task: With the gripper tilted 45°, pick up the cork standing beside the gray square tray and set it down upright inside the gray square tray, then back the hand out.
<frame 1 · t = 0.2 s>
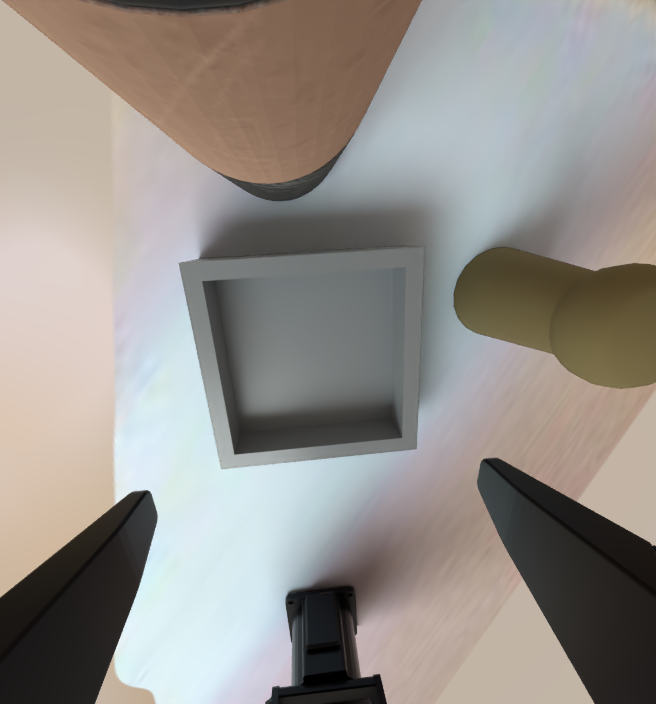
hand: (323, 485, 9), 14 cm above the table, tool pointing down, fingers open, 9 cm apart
gray square tray: (311, 349, 23), on the table
travel mug: (276, 133, 18), on the table
cork: (494, 292, 23), on the table
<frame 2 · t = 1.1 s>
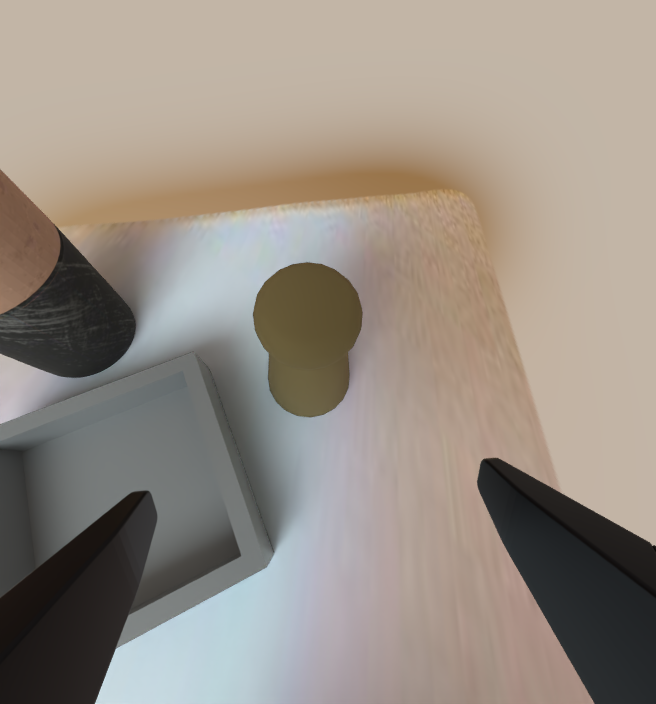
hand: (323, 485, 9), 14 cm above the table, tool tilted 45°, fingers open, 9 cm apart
gray square tray: (139, 497, 20), on the table
travel mug: (88, 335, 25), on the table
cork: (309, 377, 24), on the table
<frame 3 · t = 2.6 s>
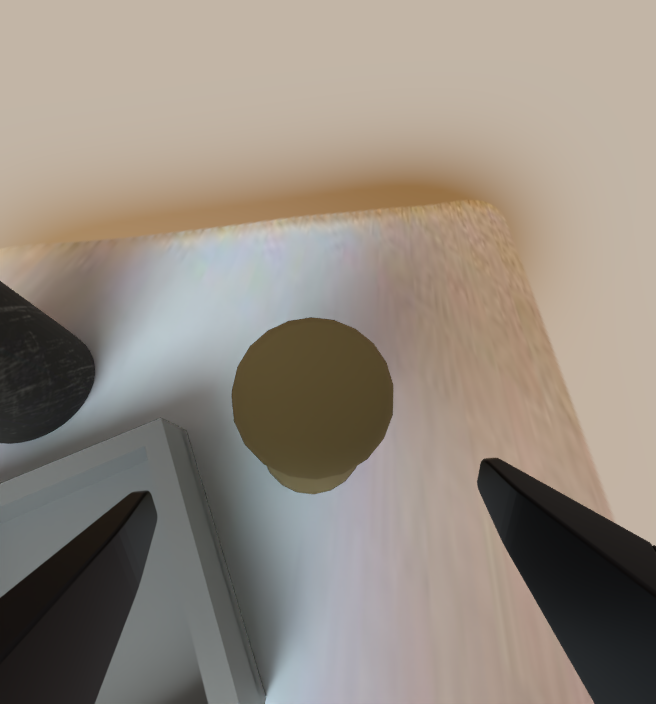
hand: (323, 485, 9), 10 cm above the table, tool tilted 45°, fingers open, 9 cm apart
gray square tray: (87, 614, 15), on the table
travel mug: (35, 384, 20), on the table
cork: (312, 438, 19), on the table
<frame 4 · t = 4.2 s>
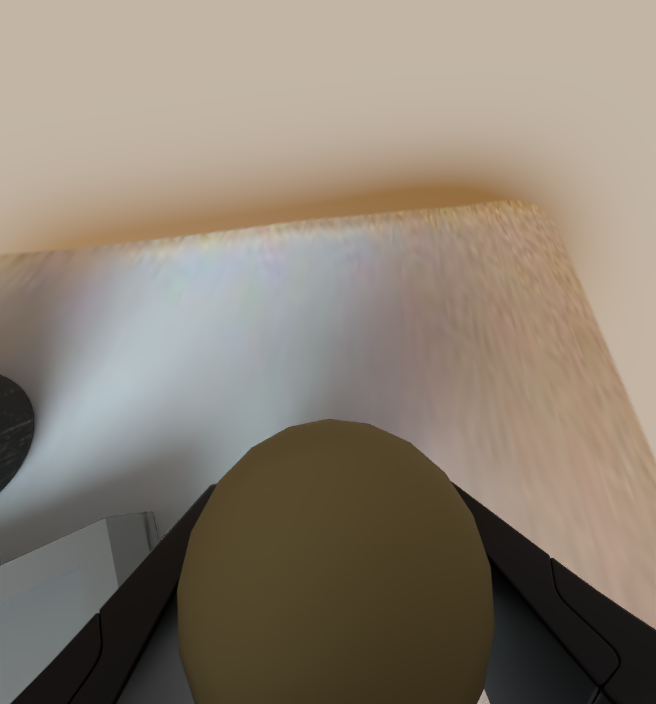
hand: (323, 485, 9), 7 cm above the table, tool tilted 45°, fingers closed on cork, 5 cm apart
cork: (320, 520, 15), on the table, touching gripper
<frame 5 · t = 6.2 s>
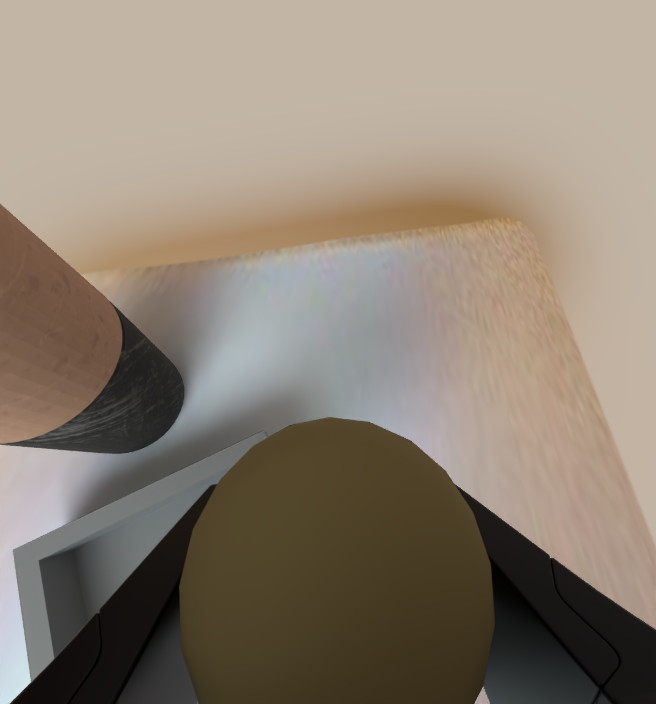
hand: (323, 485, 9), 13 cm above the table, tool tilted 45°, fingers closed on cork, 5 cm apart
gray square tray: (207, 595, 18), on the table
travel mug: (132, 400, 22), on the table
cork: (321, 518, 15), point 6 cm above the table, touching gripper
when the fingers open (9 cm above the table, at t = 8.2 s): cork drops 1 cm, resting on gray square tray.
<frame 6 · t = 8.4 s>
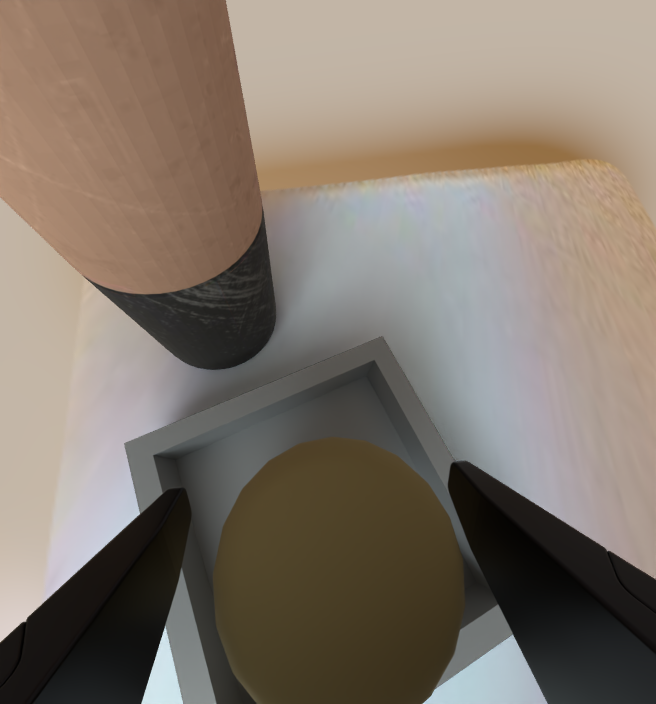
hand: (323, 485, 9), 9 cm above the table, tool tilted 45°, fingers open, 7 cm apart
gray square tray: (318, 516, 17), on the table
travel mug: (221, 319, 21), on the table
cork: (322, 521, 16), point 1 cm above the table, touching gray square tray
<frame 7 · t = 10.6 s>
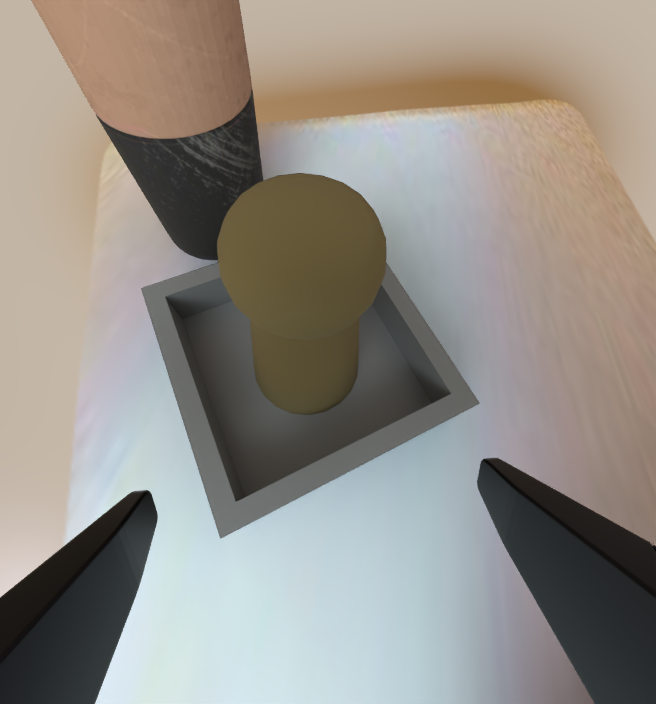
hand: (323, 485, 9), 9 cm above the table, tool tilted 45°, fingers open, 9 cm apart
gray square tray: (303, 366, 20), on the table
travel mug: (219, 223, 24), on the table
cork: (306, 364, 19), point 1 cm above the table, touching gray square tray
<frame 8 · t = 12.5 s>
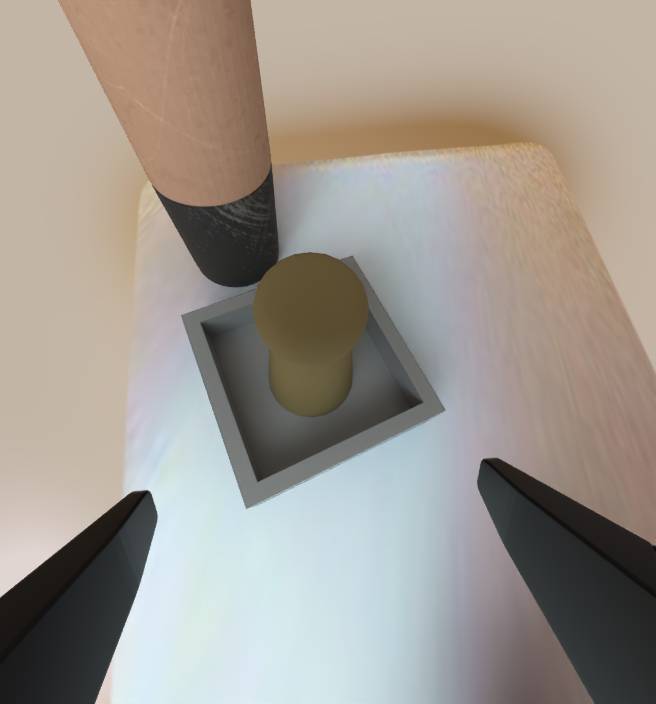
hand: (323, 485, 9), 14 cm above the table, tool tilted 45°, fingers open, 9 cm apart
gray square tray: (308, 378, 24), on the table
travel mug: (238, 255, 29), on the table
cork: (310, 376, 23), point 1 cm above the table, touching gray square tray
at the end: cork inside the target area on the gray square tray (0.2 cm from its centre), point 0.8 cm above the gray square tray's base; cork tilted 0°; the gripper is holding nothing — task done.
